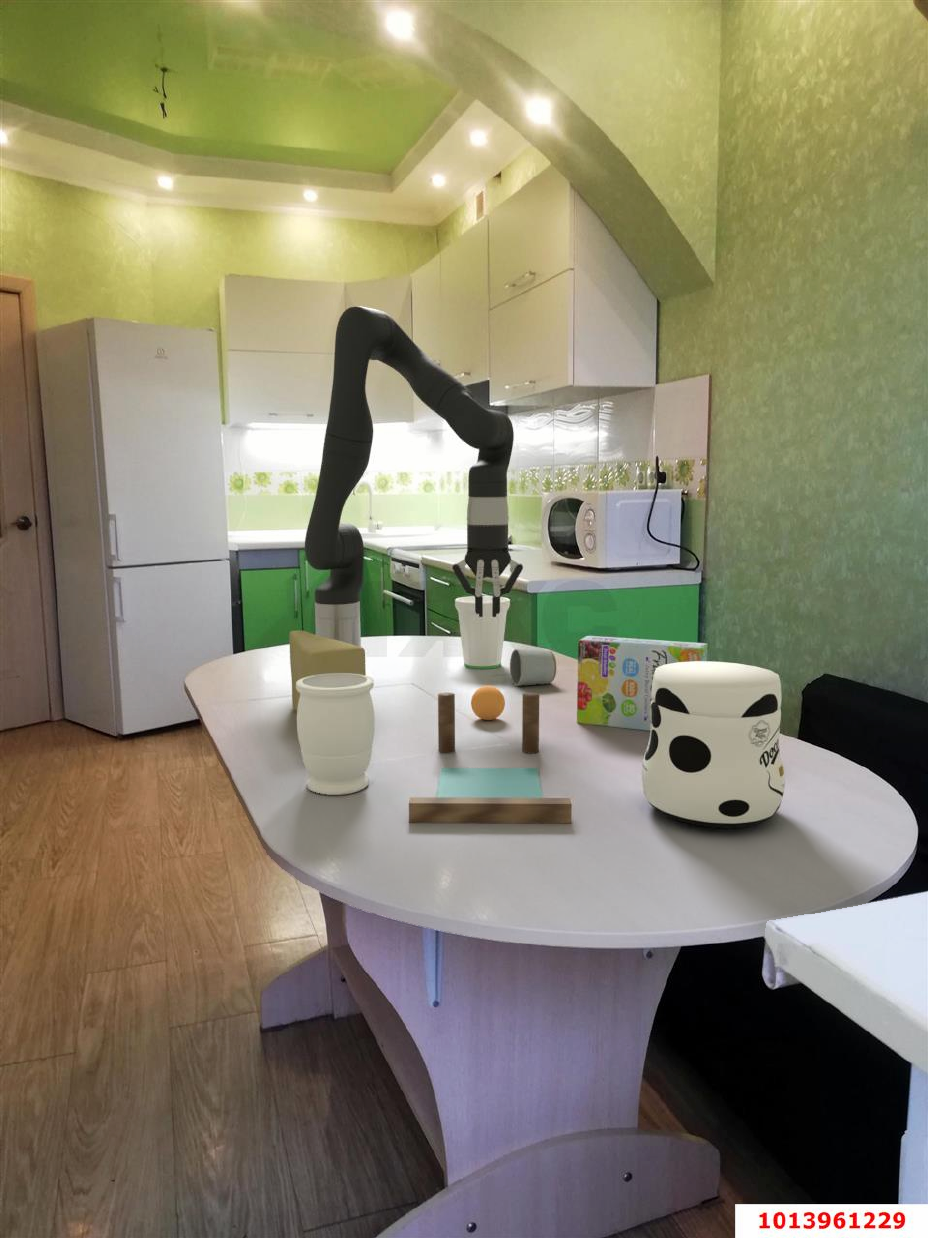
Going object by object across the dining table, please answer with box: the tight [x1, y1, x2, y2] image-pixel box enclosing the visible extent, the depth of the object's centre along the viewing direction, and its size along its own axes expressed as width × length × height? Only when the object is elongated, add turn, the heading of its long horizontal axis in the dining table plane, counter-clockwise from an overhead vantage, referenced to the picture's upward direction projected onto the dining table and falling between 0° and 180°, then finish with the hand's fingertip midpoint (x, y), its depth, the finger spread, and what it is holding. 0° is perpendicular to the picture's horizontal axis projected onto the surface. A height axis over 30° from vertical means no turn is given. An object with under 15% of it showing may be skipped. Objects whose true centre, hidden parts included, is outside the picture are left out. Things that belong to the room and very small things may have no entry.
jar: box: [296, 673, 376, 796], centre depth 118 cm, size 11×10×15 cm
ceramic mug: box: [509, 648, 557, 687], centre depth 180 cm, size 11×8×8 cm
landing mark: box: [436, 767, 543, 798], centre depth 119 cm, size 14×14×1 cm
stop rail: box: [408, 796, 573, 824], centre depth 107 cm, size 20×2×2 cm, turn 89°
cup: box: [454, 595, 511, 670], centre depth 197 cm, size 12×12×15 cm
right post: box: [521, 692, 540, 754], centre depth 134 cm, size 3×3×9 cm
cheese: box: [288, 629, 367, 712], centre depth 151 cm, size 22×10×15 cm, turn 31°
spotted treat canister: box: [641, 660, 786, 829], centre depth 108 cm, size 17×17×18 cm
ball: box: [470, 685, 506, 721], centre depth 152 cm, size 6×6×6 cm
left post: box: [437, 692, 456, 754], centre depth 134 cm, size 3×3×9 cm
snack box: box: [576, 635, 709, 732], centre depth 147 cm, size 21×6×15 cm, turn 65°
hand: (487, 616), depth 159 cm, fingers closed
